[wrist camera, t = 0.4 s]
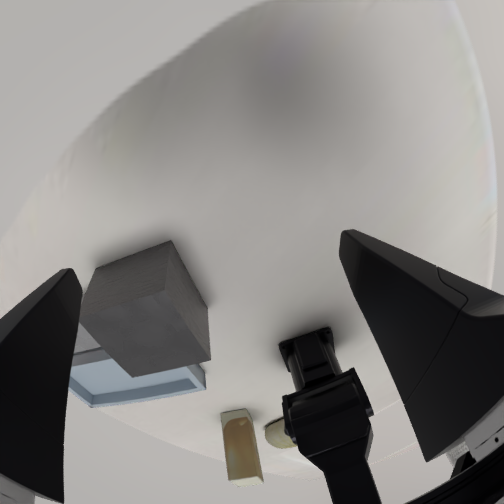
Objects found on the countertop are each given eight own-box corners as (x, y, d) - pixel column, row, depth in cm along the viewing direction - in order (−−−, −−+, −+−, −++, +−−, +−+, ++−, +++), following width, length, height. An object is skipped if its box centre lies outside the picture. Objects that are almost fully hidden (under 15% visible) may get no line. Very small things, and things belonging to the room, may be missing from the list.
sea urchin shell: (308, 437, 51) (287, 465, 45) (277, 417, 54) (254, 443, 48) (326, 418, 46) (305, 450, 40) (291, 396, 50) (267, 425, 44)
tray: (205, 373, 35) (206, 389, 33) (93, 393, 36) (91, 407, 34) (169, 326, 30) (168, 345, 28) (51, 356, 31) (46, 371, 28)
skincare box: (253, 421, 46) (265, 483, 36) (229, 425, 46) (238, 488, 36) (245, 407, 42) (258, 477, 32) (219, 412, 42) (228, 481, 32)
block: (207, 308, 29) (210, 360, 24) (138, 328, 29) (132, 377, 24) (171, 240, 24) (164, 290, 19) (95, 268, 25) (76, 318, 19)
